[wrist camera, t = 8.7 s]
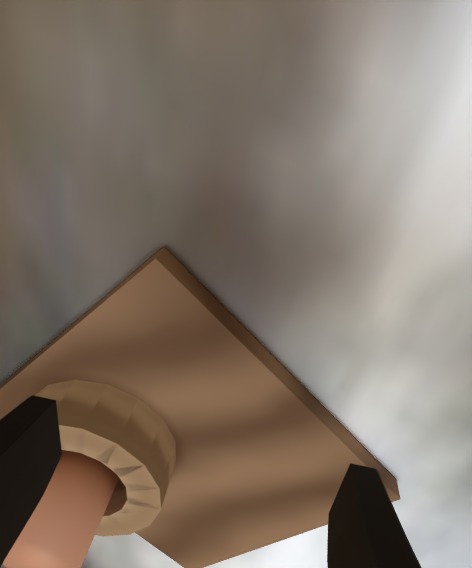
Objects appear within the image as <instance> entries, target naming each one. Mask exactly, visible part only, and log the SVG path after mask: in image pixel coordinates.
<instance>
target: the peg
mask: <svg viewBox="0 0 472 568" xmlns="http://www.w3.org/2000/svg"><path fill="white" fill-rule="evenodd" d="M118 480H119V476H118V475H117V474H116V473H115V472H114V471H112V470H111V469H110V468H108V467H107V466H106V465H104V464H103V463H102V462H101V461H98V460H96V459H94V458H91V457H89V456H87V455H84V454H82V453H79V452H73V451H66V450H62V456H61V458H60V460H59V462H58V465H57V467H56V469H55V471H54V474H53V476H52V478H51V480H50V482H49V484H48V486H47V488H46V491H45V493H44V495H43V497H42V498H41V500H40V502H39V503H38V505H37V507H36V509H35V510H34V512H33V514H32V515H31V517H30V519H29V520H28V522H27V524H26V525H25V527H24V529H23V530H22V532H21V534H20V535H19V537H18V539H17V540H16V542H15V543H14V545H13V547H12V548H11V550H10V552H9V553H8V555H7V557H6V558H5V560H4V562H3V564H4V565H5V566H6V567H7V568H81V565H82V563H83V561H84V558H85V556H86V554H87V552H88V549H89V547H90V545H91V542H92V540H93V538H94V535H95V533H96V531H97V529H98V526H99V524H100V522H101V519H102V517H103V515H104V512H105V510H106V508H107V506H108V503H109V501H110V499H111V496H112V494H113V492H114V489H115V487H116V485H117V483H118Z"/></svg>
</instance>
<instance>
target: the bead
mask: <svg viewBox="0 0 472 568" xmlns="http://www.w3.org/2000/svg"><path fill="white" fill-rule="evenodd" d="M34 396H39V397H43V398H48V399H53V400H56V404H57V413H58V422H59V431H60V440H61V449H62V450H66V451H73V452H79V453H82V454H84V455H87V456H89V457H91V458H94V459H96V460H98V461H101V462H102V463H103V464H104V465H106V466H107V467H108V468H110V469H111V470H112V471H114V472H115V473H116V474H117V475H118V476H119V480H118V483H117V485H116V487H115V489H114V492H113V494H112V496H111V499H110V501H109V503H108V506H107V508H106V510H105V512H104V515H103V517H102V519H101V522H100V524H99V526H98V529H97V531H96V533H95V535H99V536H113V535H128V534H132V533H134V532H136V531H138V530H141V529H143V528H145V527H147V526H150V525H151V523H152V522H153V520H154V519H155V517H156V516H157V515H158V513H159V512H160V510H161V508H162V505H163V502H164V498H165V495H166V492H167V489H168V485H169V482H170V479H171V476H172V473H173V469H174V466H175V463H176V445H175V439H174V437H173V436H172V434H171V432H170V430H169V429H168V427H167V425H166V423H165V422H164V420H163V418H162V417H160V416H159V415H158V414H157V413H156V412H155V411H153V410H152V409H151V408H150V407H149V406H147V405H146V404H145V403H144V402H143V401H141V400H140V399H139V398H137V397H135V396H133V395H131V394H128V393H126V392H124V391H122V390H119V389H117V388H115V387H113V386H110V385H108V384H102V383H96V382H89V381H82V380H71V381H65V382H60V383H55V384H50V385H47V386H46V387H45V388H43V389H42V390H41V391H40V392H38V393H37V394H36V395H34Z"/></svg>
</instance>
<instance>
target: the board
mask: <svg viewBox="0 0 472 568" xmlns="http://www.w3.org/2000/svg"><path fill="white" fill-rule="evenodd" d="M71 380H82V381H89V382H96V383H102V384H108V385H110V386H113V387H115V388H117V389H119V390H122V391H124V392H126V393H128V394H131V395H133V396H135V397H137V398H139V399H140V400H141V401H143V402H144V403H145V404H146V405H147V406H149V407H150V408H151V409H152V410H153V411H155V412H156V413H157V414H158V415H159V416H160V417H162V418H163V420H164V422H165V423H166V425H167V427H168V429H169V430H170V432H171V434H172V436H173V437H174V439H175V445H176V463H175V466H174V469H173V473H172V476H171V479H170V482H169V485H168V489H167V492H166V495H165V498H164V502H163V505H162V508H161V510H160V512H159V513H158V515H157V516H156V517H155V519H154V520H153V522H152V523H151V525H150V526H147V527H145V528H143V529H141V530H138V531H136V532H135V533H136V534H138V535H139V536H141V537H142V538H143V539H145V540H146V541H148V542H149V543H150V544H152V545H153V546H155V547H156V548H157V549H159V550H160V551H162V552H163V553H164V554H166V555H167V556H169V557H170V558H171V559H173V560H174V561H176V562H177V563H178V564H180V565H181V566H183V567H184V568H203V567H206V566H209V565H212V564H215V563H218V562H220V561H223V560H226V559H229V558H232V557H235V556H238V555H241V554H244V553H246V552H249V551H252V550H255V549H258V548H261V547H264V546H267V545H269V544H272V543H275V542H278V541H281V540H284V539H287V538H290V537H293V536H295V535H298V534H301V533H304V532H307V531H310V530H313V529H316V528H318V527H321V526H324V525H327V524H328V517H329V511H330V509H331V507H332V504H333V502H334V500H335V497H336V495H337V493H338V490H339V488H340V486H341V483H342V481H343V479H344V476H345V474H346V472H347V469H348V467H349V465H350V463H352V464H356V465H361V466H366V467H370V468H375V469H377V471H378V472H379V474H380V476H381V479H382V481H383V484H384V486H385V488H386V491H387V493H388V496H389V498H390V500H391V502H393V501H396V500H399V499H400V495H399V490H398V485H397V480H396V479H395V478H394V477H393V476H392V475H391V474H390V473H389V472H388V471H387V470H386V469H385V468H384V467H383V466H382V465H381V464H380V463H379V462H378V461H377V460H376V459H375V458H374V457H373V456H372V455H371V454H370V453H369V452H368V451H367V450H366V449H365V448H364V447H363V446H362V445H361V444H360V443H359V442H358V441H357V440H356V439H355V438H354V437H353V436H352V435H351V434H350V433H349V432H348V431H347V430H346V429H345V428H344V427H343V426H342V425H341V424H340V423H339V422H338V421H337V420H336V419H335V418H334V417H333V416H332V415H331V414H330V413H329V412H328V411H327V410H326V409H325V408H324V407H323V406H322V405H321V404H320V403H319V402H318V401H317V400H316V399H315V398H314V397H313V396H312V395H311V394H310V393H309V392H308V391H307V390H306V389H305V388H304V387H303V386H302V385H301V384H300V383H299V382H298V381H297V380H296V379H295V378H294V377H293V376H292V375H291V374H290V373H289V372H288V371H287V370H286V369H285V368H284V367H283V366H282V365H281V364H280V363H279V362H278V361H277V360H276V359H275V358H274V357H273V356H272V355H271V354H270V353H269V352H268V351H267V350H266V349H265V348H264V347H263V346H262V345H261V344H260V343H259V342H258V341H257V340H256V339H255V338H254V337H253V336H252V335H251V334H250V333H249V332H248V331H247V330H246V329H245V328H244V327H243V326H242V325H241V324H240V322H239V321H238V320H237V319H236V318H235V317H234V316H233V315H232V314H231V313H230V312H229V311H228V310H227V309H226V308H225V307H224V306H223V305H222V304H221V303H220V302H219V301H218V300H217V299H216V298H215V297H214V296H213V295H212V294H211V293H210V292H209V291H208V290H207V289H206V288H205V287H204V286H203V285H202V284H201V283H200V282H199V281H198V280H197V279H196V278H195V277H194V276H193V275H192V274H191V273H190V272H189V271H188V270H187V269H186V268H185V267H184V266H183V265H182V264H181V263H180V262H179V261H178V260H177V259H176V258H175V257H174V256H173V255H172V254H171V253H170V252H169V251H168V250H167V249H166V248H165V247H162V248H161V249H160V250H159V251H158V252H157V253H155V254H154V255H153V256H152V257H151V258H150V259H148V260H147V261H146V262H145V263H144V264H142V265H141V266H140V267H139V268H138V269H137V270H135V271H134V272H133V273H132V274H131V275H129V276H128V277H127V278H126V279H125V280H124V281H122V282H121V283H120V284H119V285H118V286H117V287H115V288H114V289H113V290H112V291H111V292H109V293H108V294H107V295H106V296H105V297H104V298H102V299H101V300H100V301H99V302H98V303H97V304H95V305H94V306H93V307H92V308H91V309H89V310H88V311H87V312H86V313H85V314H84V315H82V316H81V317H80V318H79V319H78V320H76V321H75V322H74V323H73V324H72V325H71V326H69V327H68V328H67V329H66V330H65V331H64V332H62V333H61V334H60V335H59V336H58V337H56V338H55V339H54V340H53V341H52V342H51V343H49V344H48V345H47V346H46V347H45V348H44V349H42V350H41V351H40V352H39V353H38V354H36V355H35V356H34V357H33V358H32V359H31V360H29V361H28V362H27V363H26V364H25V365H24V366H22V367H21V368H20V369H19V370H18V371H16V372H15V373H14V374H13V375H12V376H11V377H9V378H8V379H7V380H6V381H5V382H3V383H2V384H1V385H0V419H1V418H3V417H4V416H5V415H7V414H8V413H9V412H10V411H12V410H13V409H14V408H16V407H17V406H18V405H19V404H21V403H22V402H23V401H25V400H26V399H27V398H28V397H30V396H32V395H36V394H37V393H38V392H40V391H41V390H42V389H43V388H45V387H46V386H47V385H50V384H55V383H60V382H65V381H71Z"/></svg>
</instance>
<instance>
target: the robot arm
mask: <svg viewBox="0 0 472 568" xmlns="http://www.w3.org/2000/svg"><path fill="white" fill-rule="evenodd" d="M61 456H62V449H61V440H60V431H59V422H58V413H57V404H56V400H53V399H48V398H43V397H39V396H34V395H32V396H30V397H28V398H27V399H26V400H25V401H23V402H22V403H21V404H19V405H18V406H17V407H16V408H14V409H13V410H12V411H10V412H9V413H8V414H7V415H5V416H4V417H3V418H1V419H0V567H1V565H2V563H3V562H4V560H5V558H6V557H7V555H8V553H9V552H10V550H11V548H12V547H13V545H14V543H15V542H16V540H17V539H18V537H19V535H20V534H21V532H22V530H23V529H24V527H25V525H26V524H27V522H28V520H29V519H30V517H31V515H32V514H33V512H34V510H35V509H36V507H37V505H38V503H39V502H40V500H41V498H42V497H43V495H44V493H45V491H46V488H47V486H48V484H49V482H50V480H51V478H52V476H53V474H54V471H55V469H56V467H57V465H58V462H59V460H60V458H61ZM327 562H328V568H421V566H420V564H419V562H418V560H417V558H416V556H415V554H414V552H413V549H412V547H411V545H410V543H409V541H408V539H407V537H406V534H405V532H404V530H403V528H402V526H401V523H400V521H399V519H398V517H397V514H396V512H395V510H394V507H393V505H392V503H391V500H390V498H389V496H388V493H387V491H386V488H385V486H384V484H383V481H382V479H381V476H380V474H379V472H378V471H377V469H375V468H370V467H366V466H361V465H356V464H352V463H350V465H349V467H348V469H347V472H346V474H345V476H344V479H343V481H342V483H341V486H340V488H339V490H338V493H337V495H336V497H335V500H334V502H333V504H332V507H331V509H330V511H329V517H328V554H327Z"/></svg>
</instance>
